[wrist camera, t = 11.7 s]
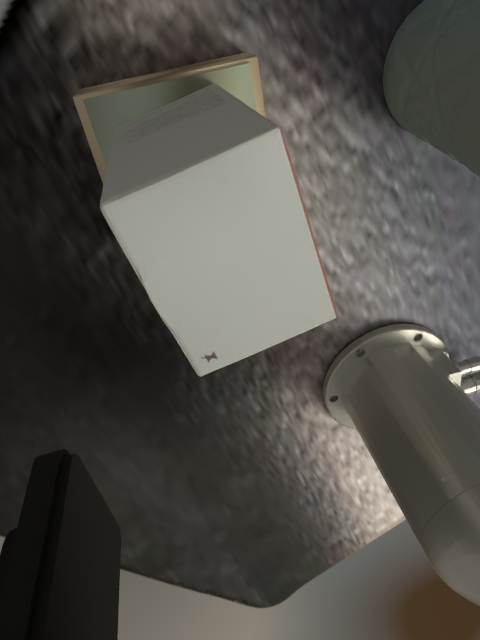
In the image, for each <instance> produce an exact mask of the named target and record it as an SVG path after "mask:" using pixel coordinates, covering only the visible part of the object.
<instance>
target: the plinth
mask: <svg viewBox="0 0 480 640" xmlns="http://www.w3.org/2000/svg"><path fill="white" fill-rule="evenodd" d="M214 83H215V84H217V85H218V86H220V87H221V88H223V89H224V90H226V91H227V92H229V93H230V94H232V95H233V96H234V97H236V98H237V99H239V100H240V101H242V102H243V103H245V104H246V105H247V106H249V107H251V108H252V109H253V110H255V111H257V112H258V113H259V114H261V115H262V116H264V117H265V110H264V102H263V95H262V87H261V79H260V72H259V64H258V57H257V56H254V55H251V54H247V53H240V54H236V55H231V56H227V57H222V58H218V59H213V60H209V61H204V62H200V63H195V64H191V65H186V66H182V67H177V68H173V69H168V70H164V71H159V72H155V73H150V74H146V75H141V76H136V77H132V78H127V79H123V80H118V81H114V82H109V83H105V84H100V85H96V86H91V87H87V88H82V89H79V90H78V91H77V92H76V94H75V95H74V96H73V100H74V103H75V106H76V109H77V111H78V114H79V117H80V120H81V123H82V126H83V128H84V131H85V134H86V137H87V140H88V143H89V146H90V148H91V151H92V154H93V157H94V160H95V163H96V165H97V168H98V171H99V174H100V177H101V180H102V182H103V185H104V178H105V172H106V166H107V160H108V154H109V148H110V142H111V137H112V131H113V129H115V128H117V127H119V126H121V125H123V124H125V123H128V122H130V121H132V120H134V119H136V118H139V117H141V116H143V115H145V114H147V113H150V112H152V111H154V110H156V109H159V108H161V107H163V106H165V105H167V104H170V103H172V102H174V101H176V100H178V99H181V98H183V97H185V96H187V95H189V94H192V93H194V92H196V91H198V90H201V89H203V88H205V87H207V86H209V85H211V84H214ZM265 118H266V117H265Z"/></svg>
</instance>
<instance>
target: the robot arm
mask: <svg viewBox="0 0 480 640" xmlns="http://www.w3.org/2000/svg"><path fill="white" fill-rule="evenodd" d="M478 371H479V372H478ZM474 372H476V373H474ZM471 373H472V374H471ZM465 374H468V375H466V376H465V377H462V378H461V376H462V375H465ZM477 393H480V357H479V356H477V357H473V358H469V359H466V360H463V361H461V362H456V361H453V360H452V361H451V360H450V359H449V353H448V350H447V347H446V346H445V344H444V343H443V342H442V340H441V339H440V338H439V337H438V336H437V335H436V334H435V333H434V332H432V331H431V330H429V329H427V328H425V327H422V326H419V325H415V324H394V325H389V326H385V327H381V328H378V329H376V330H373V331H371V332H369V333H366V334H365V335H363V336H361V337H360V338H358V339H356V340H355V341H353V342H352V343H351V344H350V345H348V346H347V347H346V348H345V349H344V350H343V351H342V352H341V353H340V354H339V355H338V356H337V357H336V358H335V360H334V361H333V363H332V364H331V366H330V367H329V369H328V372H327V374H326V376H325V379H324V384H323V399H324V402H325V405H326V407H327V409H328V411H329V413H330V414H331V416H332V417H333V418H334V419H335V420H336V421H337V422H339V423H340V424H342V425H344V426H346V427H349V428H352V429H357V430H358V432H359V434H360V436H361V438H362V439H363V441H364V443H365V445H366V447H367V449H368V450H369V452H370V454H371V456H372V458H373V459H374V461H375V463H376V465H377V467H378V469H379V470H380V472H381V474H382V476H383V478H384V479H385V481H386V483H387V485H388V487H389V488H390V490H391V492H392V494H393V496H394V498H395V499H396V501H397V503H398V505H399V507H400V508H401V510H402V512H403V514H404V516H405V518H406V519H407V521H408V523H409V525H410V527H411V528H412V530H413V532H414V534H415V535H416V538H417V539H418V541H419V543H420V545H421V547H422V548H423V550H424V552H425V554H426V556H427V558H428V559H429V561H430V563H431V564H432V566H433V568H434V569H435V571H436V572H437V573H438V575H439V576H440V577H441V578H442V579H443V580H444V582H445V583H447V584H448V585H449V586H450V587H451V588H452V589H453V590H455V591H456V592H457V593H459V594H460V595H462V596H463V597H465V598H466V599H468V600H470V601H472V602H473V603H475V604H477V605H479V606H480V409H479V408H478V406H477V405H476V404H475V403H474V402H473V401H472V400H471V399H470V397H469V396H468V395H470V394H477ZM120 553H121V535H120V529H119V526H118V523H117V522H116V520H115V518H114V516H113V515H112V513H111V511H110V509H109V508H108V506H107V504H106V502H105V501H104V499H103V497H102V495H101V494H100V492H99V490H98V489H97V487H96V485H95V483H94V482H93V480H92V478H91V476H90V475H89V473H88V471H87V469H86V468H85V466H84V464H83V462H82V461H81V459H80V457H79V456H78V454H76V453H75V454H71V455H70V453H69V452H68V451H67V450H65V449H63V450H59V451H55V452H52V453H48V454H44V455H40V456H37V457H36V458H35V460H34V462H33V466H32V470H31V474H30V478H29V482H28V486H27V490H26V494H25V498H24V502H23V506H22V510H21V514H20V518H19V523H18V527H17V528H15V529H13V530H11V531H10V532H9V533H8V535H7V536H6V538H5V541H4V544H3V547H2V550H1V554H0V640H117V633H118V632H117V631H118V605H119V579H120Z"/></svg>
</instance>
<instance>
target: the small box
mask: <svg viewBox="0 0 480 640" xmlns="http://www.w3.org/2000/svg"><path fill="white" fill-rule="evenodd" d="M100 210H101V212H102V214H103V216H104V217H105V219H106V221H107V223H108V225H109V227H110V228H111V230H112V232H113V234H114V235H115V237H116V239H117V241H118V243H119V244H120V246H121V248H122V250H123V251H124V253H125V255H126V256H127V258H128V260H129V262H130V263H131V265H132V267H133V269H134V270H135V272H136V274H137V276H138V277H139V279H140V281H141V283H142V284H143V286H144V288H145V290H146V292H147V294H148V296H149V298H150V300H151V302H152V303H153V305H154V307H155V308H156V310H157V312H158V313H159V315H160V316H161V318H162V320H163V322H164V323H165V325H166V326H167V327H168V328H169V330H170V331H171V333H172V334H173V336H174V337H175V339H176V341H177V342H178V344H179V345H180V347H181V349H182V350H183V352H184V354H185V355H186V357H187V358H188V360H189V362H190V363H191V365H192V367H193V368H194V370H195V372H196V373H197V375H198V376H200V377H201V376H204V375H206V374H208V373H210V372H212V371H215V370H217V369H220V368H222V367H225V366H227V365H230V364H232V363H234V362H237V361H239V360H242V359H244V358H246V357H248V356H251V355H253V354H255V353H258V352H260V351H262V350H265V349H267V348H269V347H272V346H274V345H276V344H278V343H281V342H283V341H285V340H287V339H289V338H292V337H294V336H297V335H299V334H301V333H304V332H306V331H308V330H310V329H313V328H315V327H317V326H319V325H321V324H323V323H326V322H328V321H331V320H333V319H335V318H336V317H337V312H336V309H335V306H334V302H333V299H332V295H331V292H330V289H329V285H328V282H327V279H326V275H325V272H324V269H323V265H322V262H321V259H320V255H319V252H318V249H317V245H316V242H315V239H314V236H313V232H312V229H311V226H310V222H309V219H308V216H307V212H306V209H305V206H304V202H303V199H302V196H301V193H300V190H299V186H298V183H297V180H296V177H295V173H294V170H293V166H292V163H291V160H290V157H289V153H288V150H287V147H286V144H285V140H284V137H283V134H282V131H281V128H280V127H279V126H277V125H275V124H274V123H273V122H271V121H270V120H268V119H267V118H265V117H264V116H262V115H261V114H259V113H258V112H257V111H255V110H253V109H252V108H251V107H249V106H247V105H246V104H245V103H243V102H242V101H240V100H239V99H237V98H236V97H234V96H233V95H232V94H230V93H229V92H227V91H226V90H224V89H223V88H221V87H220V86H218V85H217V84H215V83H214V84H211V85H209V86H207V87H205V88H203V89H201V90H198V91H196V92H194V93H192V94H189V95H187V96H185V97H183V98H181V99H178V100H176V101H174V102H172V103H170V104H167V105H165V106H163V107H161V108H159V109H156V110H154V111H152V112H150V113H147V114H145V115H143V116H141V117H139V118H136V119H134V120H132V121H130V122H128V123H125V124H123V125H121V126H119V127H117V128H115V129H113V131H112V137H111V142H110V148H109V154H108V160H107V166H106V172H105V178H104V185H103V190H102V196H101V200H100Z"/></svg>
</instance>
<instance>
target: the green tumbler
mask: <svg viewBox="0 0 480 640" xmlns="http://www.w3.org/2000/svg"><path fill="white" fill-rule="evenodd" d="M383 90H384V96H385V99H386V103H387V106H388V108H389V110H390V112H391V114H392V116H393V117H394V119H395V120H396V121H397V122H398V124H400V125H401V126H402V127H403V128H404V129H406V130H407V131H409V132H411V133H412V134H414V135H415V136H417V137H419V138H420V139H422V140H423V141H425V142H429V143H430V144H431V145H432V146H433V147H434V148H437V149H439V150H440V151H441V152H443V153H445V154H446V155H448V156H449V157H451V158H452V159H453V160H456V161H458V162H460V163H461V164H464V165H465V166H466V167H467V168H469V170H470V171H472V172H473V173H475V174H477V175H478V176H480V0H424V1H423V2H422V3H421V4H419V5H418V6H417V7H416V8H414V9H413V11H412V12H411V13H410V14H409V15H408V16H407V17H406V19H405V20H404V21H403V23H402V24H401V26H400V27H399V29H398V30H397V32H396V33H395V36H394V38H393V40H392V42H391V45H390V47H389V50H388V53H387V56H386V60H385V64H384V73H383Z"/></svg>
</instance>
